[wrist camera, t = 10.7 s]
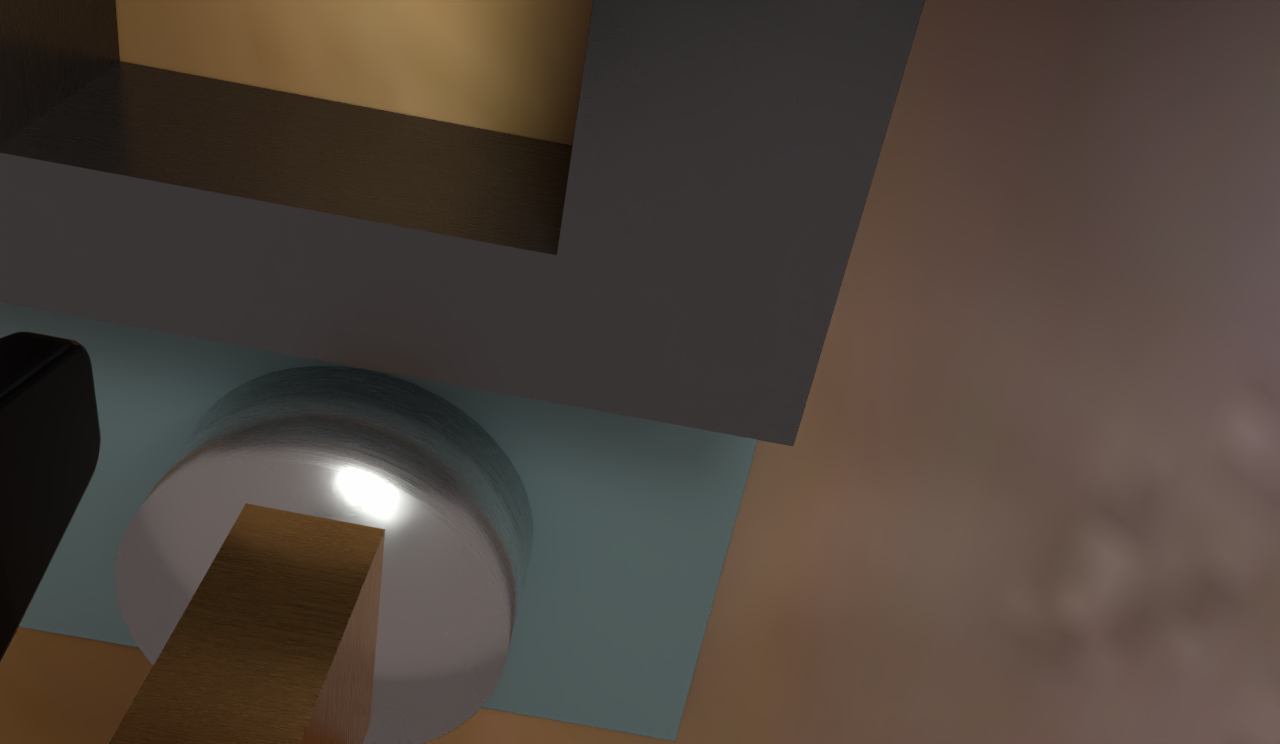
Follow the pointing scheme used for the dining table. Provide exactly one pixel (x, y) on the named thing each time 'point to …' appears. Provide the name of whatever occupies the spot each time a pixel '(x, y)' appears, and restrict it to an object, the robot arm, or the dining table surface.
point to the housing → (472, 208)
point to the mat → (558, 495)
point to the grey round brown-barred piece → (324, 567)
